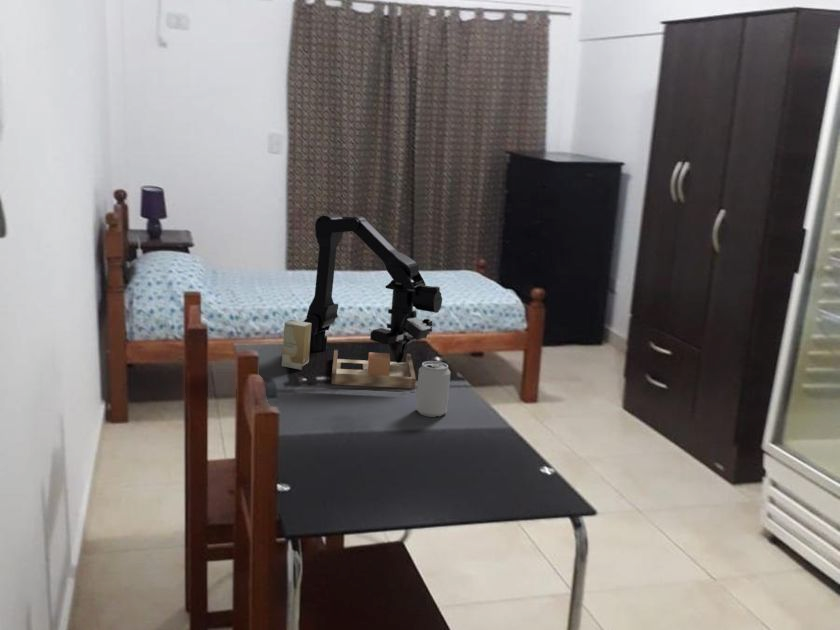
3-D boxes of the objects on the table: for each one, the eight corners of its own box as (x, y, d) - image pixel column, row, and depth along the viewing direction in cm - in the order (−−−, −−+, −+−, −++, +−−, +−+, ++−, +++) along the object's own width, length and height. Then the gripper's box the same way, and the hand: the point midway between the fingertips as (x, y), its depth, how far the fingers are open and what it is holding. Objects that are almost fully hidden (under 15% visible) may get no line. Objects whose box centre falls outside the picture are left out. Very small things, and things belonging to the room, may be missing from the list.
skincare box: (281, 366, 229) (282, 322, 226) (288, 362, 233) (290, 319, 230) (303, 370, 227) (305, 325, 224) (309, 366, 231) (312, 322, 228)
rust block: (368, 374, 224) (369, 358, 223) (367, 368, 229) (368, 352, 228) (389, 375, 224) (390, 359, 223) (388, 369, 229) (389, 353, 228)
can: (410, 408, 204) (413, 360, 202) (438, 406, 208) (442, 358, 205) (423, 419, 198) (427, 369, 195) (452, 416, 201) (456, 367, 198)
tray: (331, 388, 214) (331, 374, 213) (333, 363, 235) (334, 350, 235) (414, 392, 216) (415, 378, 215) (409, 366, 237) (410, 354, 236)
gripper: (403, 317, 217) (399, 376, 221) (447, 308, 232) (442, 363, 236) (370, 309, 224) (367, 366, 228) (414, 300, 238) (410, 353, 242)
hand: (398, 362), depth 233 cm, fingers closed
